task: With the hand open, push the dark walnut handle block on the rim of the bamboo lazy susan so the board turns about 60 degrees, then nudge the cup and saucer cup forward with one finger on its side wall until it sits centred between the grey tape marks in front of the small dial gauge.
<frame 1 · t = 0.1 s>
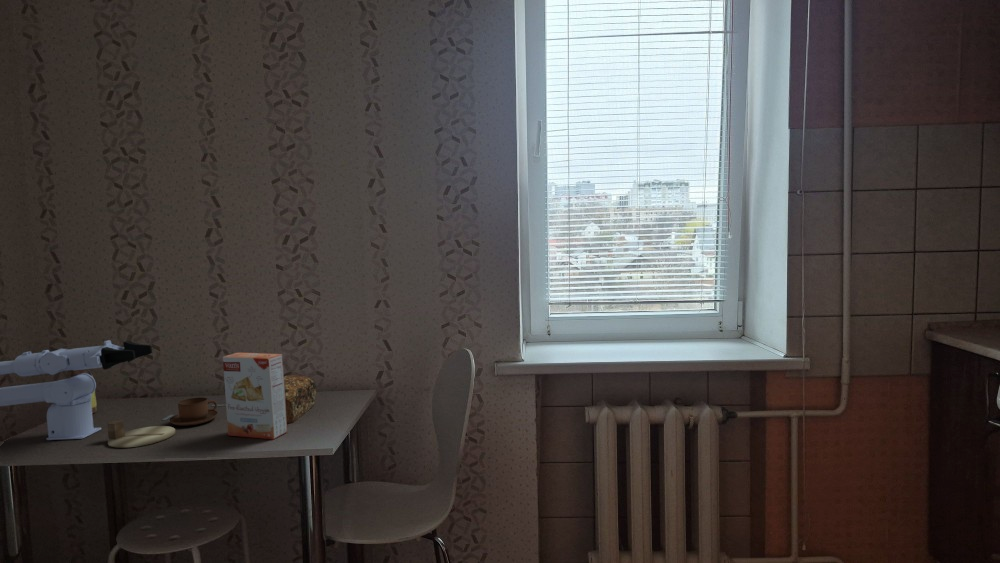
hand: (143, 352, 159), 22 cm above the table, tool horizontal, fingers open, 7 cm apart
sauce bottle: (84, 414, 181), on the table
tape mark left: (167, 417, 174), on the table
turntable: (141, 428, 156), point 2 cm above the table, hinge at 0.0°
tape mark far: (220, 405, 185), on the table
bread: (289, 415, 173), on the table
cup and saucer: (194, 423, 169), on the table
cracker box: (257, 435, 155), on the table
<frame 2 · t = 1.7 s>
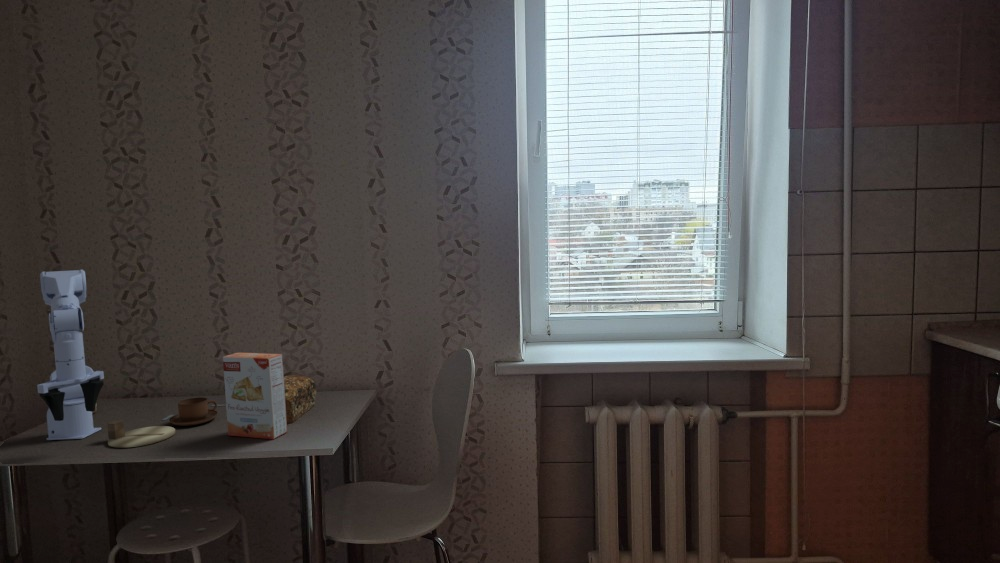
hand: (75, 415, 145), 9 cm above the table, tool pointing down, fingers open, 7 cm apart
nothing on the table moved.
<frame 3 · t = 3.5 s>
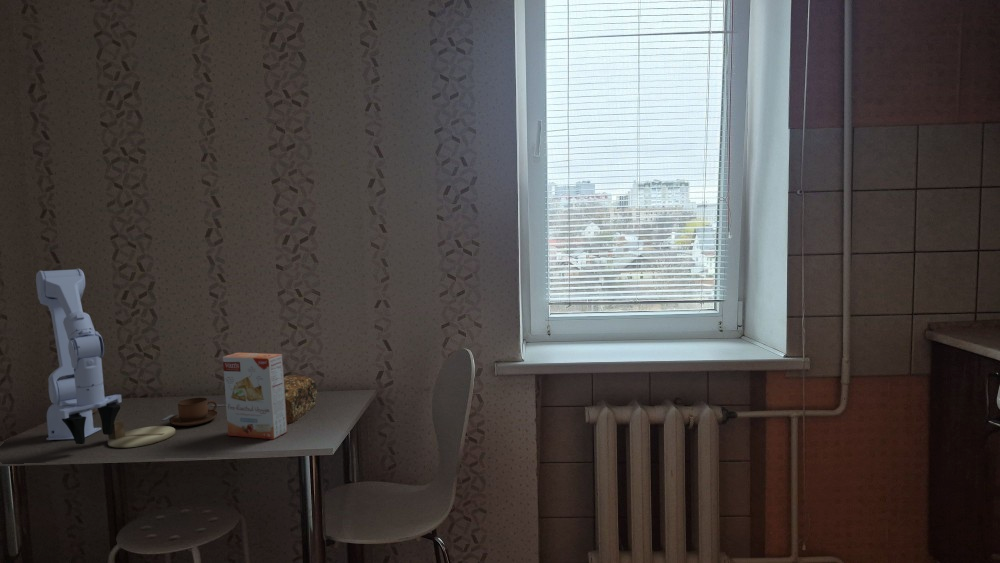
hand: (94, 438, 149), 2 cm above the table, tool pointing down, fingers open, 6 cm apart
turntable: (141, 428, 156), point 2 cm above the table, hinge at 0.0°, touching gripper
everything else where it was.
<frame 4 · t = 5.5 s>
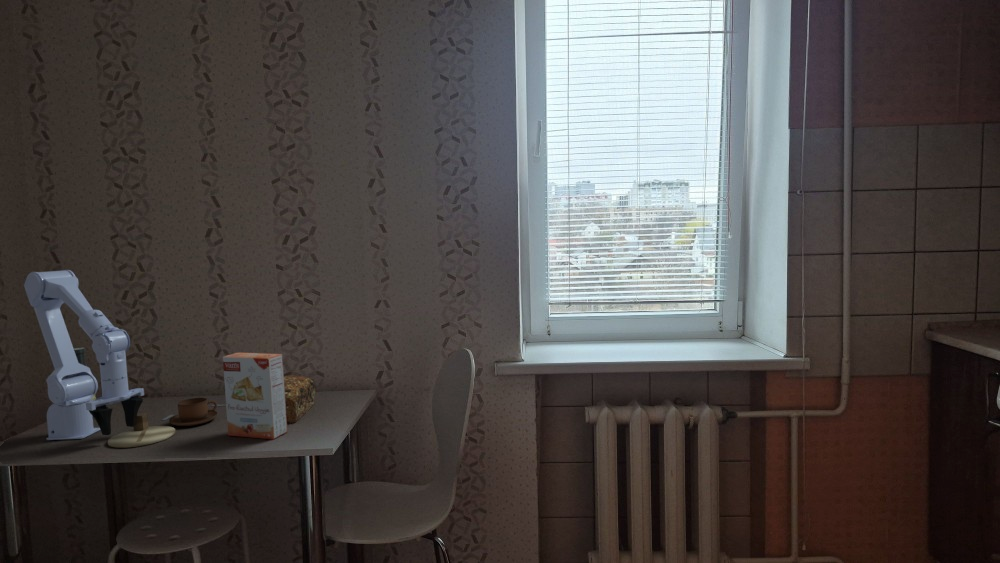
hand: (118, 430, 155), 2 cm above the table, tool pointing down, fingers open, 6 cm apart
turntable: (141, 428, 156), point 2 cm above the table, hinge at -68.0°, touching gripper
everything else where it was.
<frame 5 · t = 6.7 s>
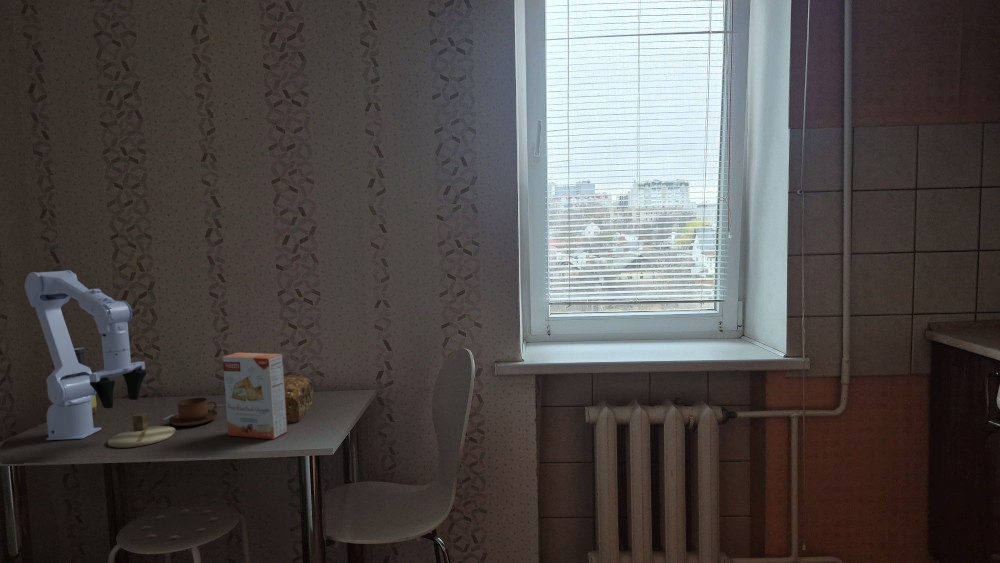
hand: (121, 403, 152), 10 cm above the table, tool pointing down, fingers open, 7 cm apart
turntable: (141, 428, 156), point 2 cm above the table, hinge at -68.0°
everything else where it was.
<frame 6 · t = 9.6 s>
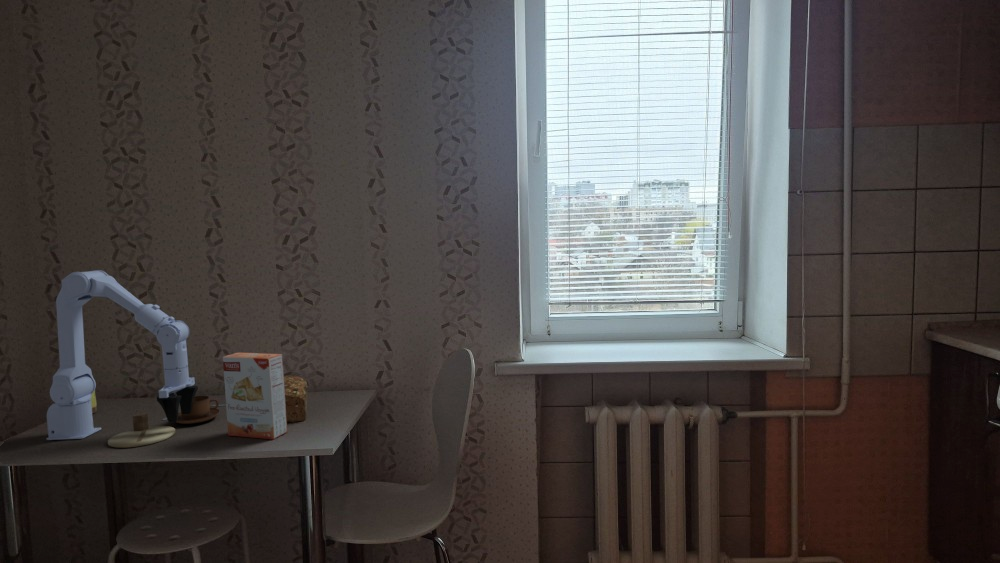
hand: (179, 417, 161), 3 cm above the table, tool pointing down, fingers open, 6 cm apart
cup and saucer: (196, 421, 170), on the table, touching gripper
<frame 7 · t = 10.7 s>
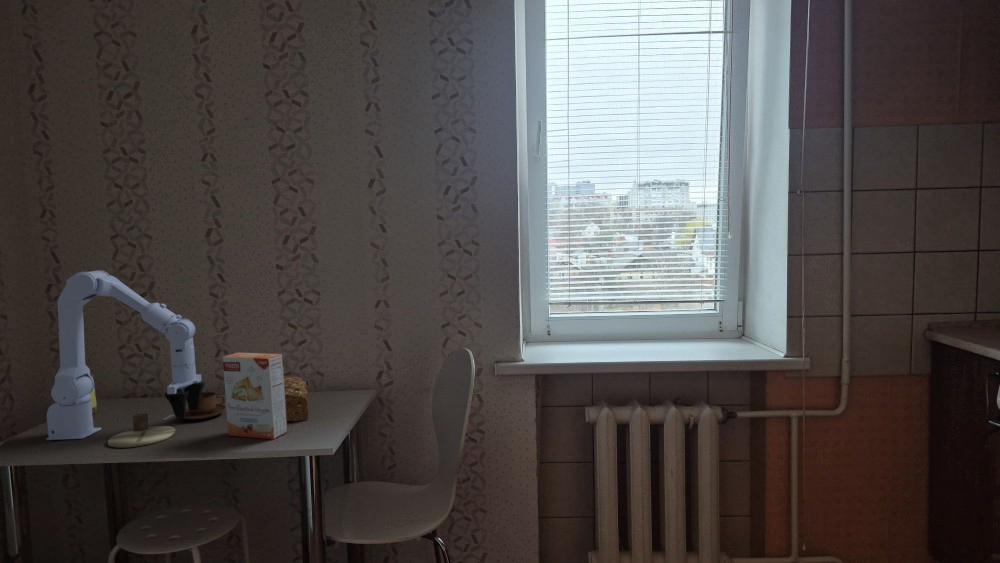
hand: (187, 413, 165), 3 cm above the table, tool pointing down, fingers open, 7 cm apart
cup and saucer: (203, 417, 174), on the table, touching gripper
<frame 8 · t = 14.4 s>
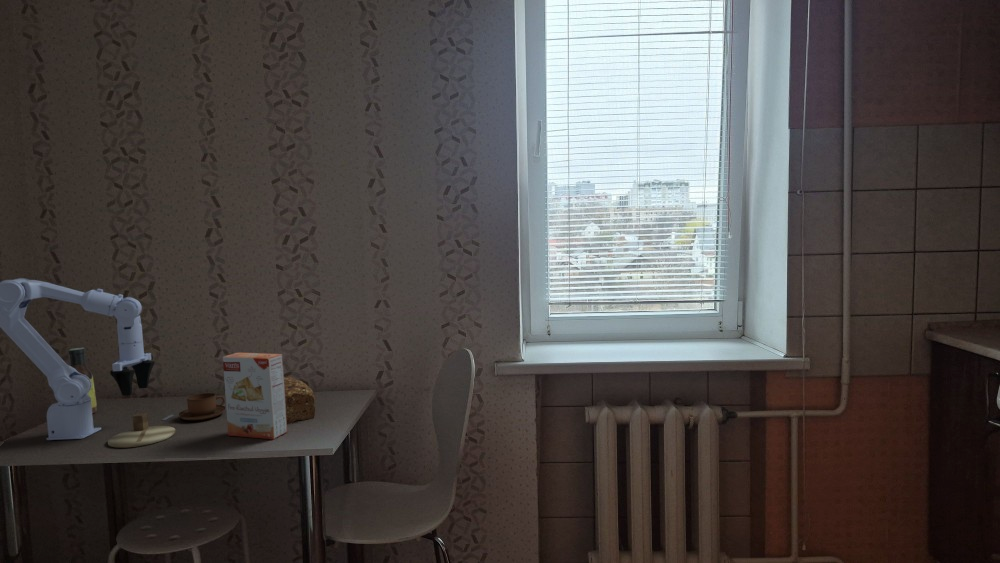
hand: (135, 391, 165), 10 cm above the table, tool pointing down, fingers open, 7 cm apart
cup and saucer: (203, 418, 174), on the table
at the end: cup and saucer inside the target area (1.8 cm from its centre), on the table; turntable at -68° (first picture: +0°); cup and saucer tilted 0° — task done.
